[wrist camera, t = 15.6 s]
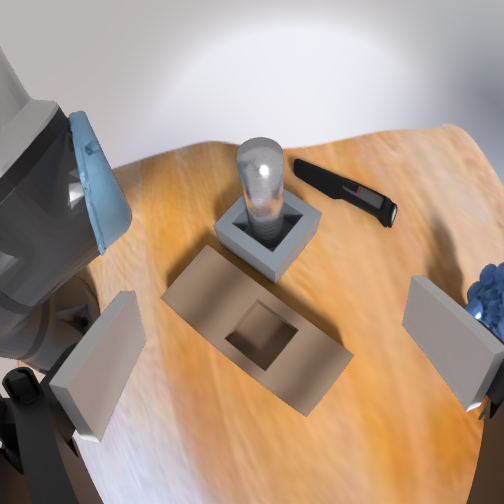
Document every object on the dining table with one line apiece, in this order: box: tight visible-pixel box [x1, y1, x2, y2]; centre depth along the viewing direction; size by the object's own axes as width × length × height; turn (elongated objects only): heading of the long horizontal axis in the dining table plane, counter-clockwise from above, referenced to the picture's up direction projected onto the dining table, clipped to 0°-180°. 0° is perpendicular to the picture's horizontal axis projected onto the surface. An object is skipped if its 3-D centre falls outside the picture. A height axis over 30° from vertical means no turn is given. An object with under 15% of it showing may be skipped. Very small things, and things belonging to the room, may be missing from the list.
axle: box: [236, 137, 283, 248], centre depth 29 cm, size 4×4×15 cm
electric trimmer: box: [294, 159, 397, 228], centre depth 37 cm, size 4×16×3 cm, turn 58°
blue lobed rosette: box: [464, 262, 504, 341], centre depth 25 cm, size 12×7×12 cm, turn 169°
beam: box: [160, 244, 354, 417], centre depth 31 cm, size 20×8×4 cm, turn 51°
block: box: [213, 188, 322, 284], centre depth 34 cm, size 8×8×5 cm
